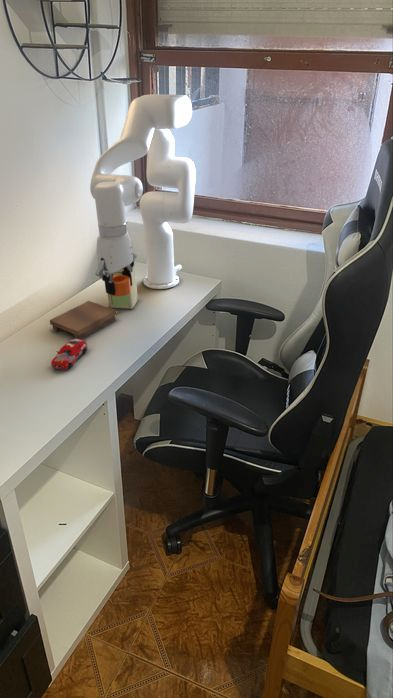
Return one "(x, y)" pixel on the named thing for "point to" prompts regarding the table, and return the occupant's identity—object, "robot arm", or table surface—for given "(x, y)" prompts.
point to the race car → (69, 354)
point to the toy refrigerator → (127, 300)
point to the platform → (84, 319)
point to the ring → (121, 285)
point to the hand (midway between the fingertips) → (119, 288)
